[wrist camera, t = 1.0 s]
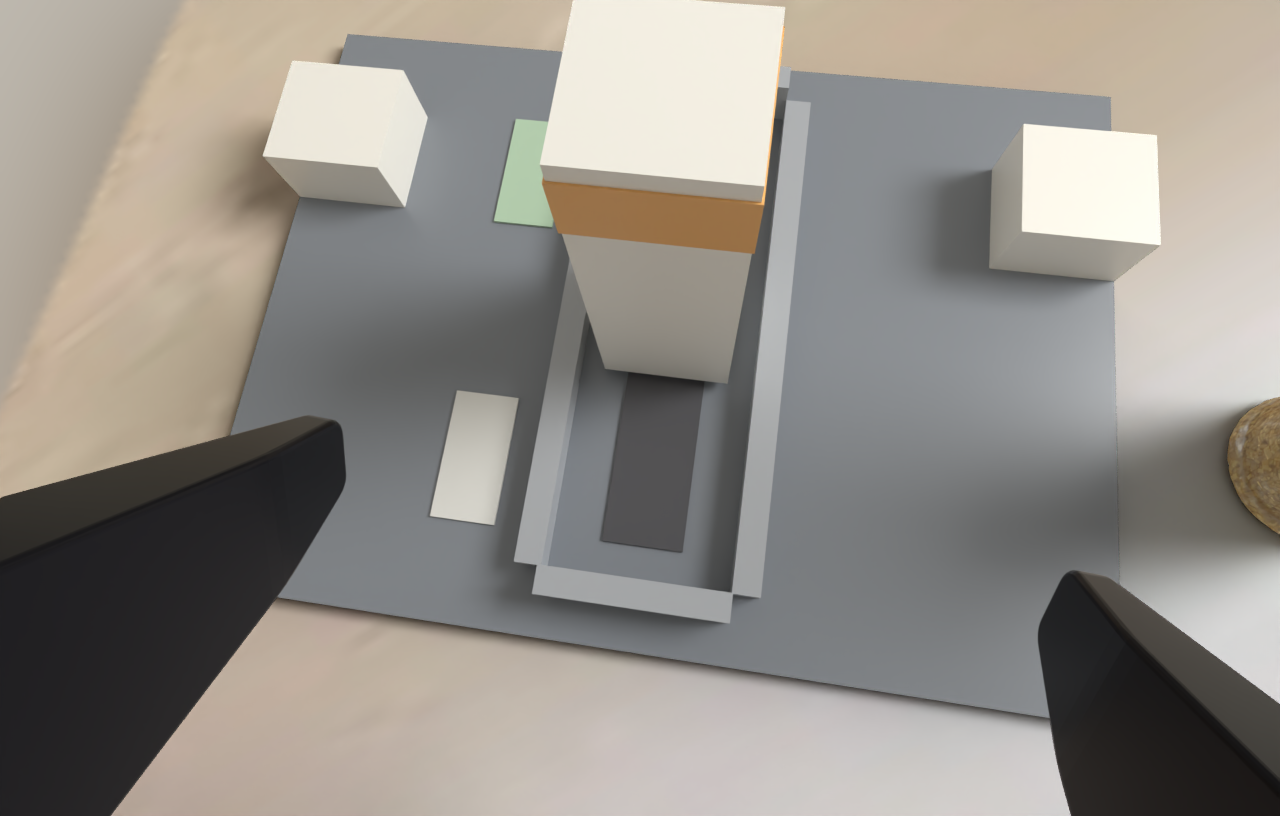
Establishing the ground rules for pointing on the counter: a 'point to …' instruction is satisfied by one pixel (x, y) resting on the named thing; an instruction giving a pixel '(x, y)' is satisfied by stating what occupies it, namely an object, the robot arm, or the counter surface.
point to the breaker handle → (663, 173)
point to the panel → (709, 411)
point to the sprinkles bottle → (1258, 462)
